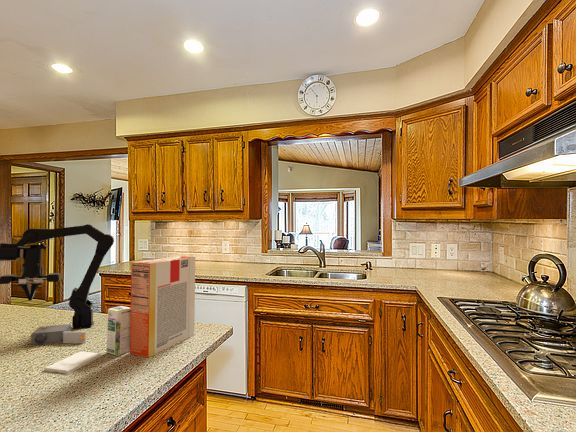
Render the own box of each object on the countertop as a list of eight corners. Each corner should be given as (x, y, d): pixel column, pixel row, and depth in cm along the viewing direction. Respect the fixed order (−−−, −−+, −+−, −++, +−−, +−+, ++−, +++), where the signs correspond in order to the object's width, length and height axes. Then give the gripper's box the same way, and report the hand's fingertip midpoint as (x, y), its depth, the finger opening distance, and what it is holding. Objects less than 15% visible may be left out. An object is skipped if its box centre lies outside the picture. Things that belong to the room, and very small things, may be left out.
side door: (84, 342, 117) (84, 332, 117) (59, 342, 116) (59, 332, 116) (86, 341, 118) (86, 331, 118) (62, 341, 118) (62, 331, 118)
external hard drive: (100, 358, 105) (67, 375, 93) (79, 356, 107) (43, 372, 95) (101, 353, 105) (67, 370, 93) (79, 351, 107) (44, 367, 95)
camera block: (70, 334, 126) (71, 322, 126) (63, 342, 117) (63, 330, 117) (39, 337, 122) (39, 325, 122) (29, 346, 114) (29, 332, 114)
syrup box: (105, 353, 108) (106, 308, 109) (122, 347, 114) (122, 305, 114) (116, 356, 106) (117, 311, 106) (132, 350, 111) (133, 307, 111)
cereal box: (177, 332, 130) (178, 256, 130) (194, 334, 126) (195, 257, 127) (129, 353, 108) (131, 262, 109) (148, 357, 105) (150, 263, 106)
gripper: (64, 257, 140) (62, 294, 139) (8, 258, 132) (6, 297, 131) (59, 260, 130) (57, 300, 129) (-1, 261, 122) (-4, 304, 121)
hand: (30, 300), depth 128 cm, fingers closed
